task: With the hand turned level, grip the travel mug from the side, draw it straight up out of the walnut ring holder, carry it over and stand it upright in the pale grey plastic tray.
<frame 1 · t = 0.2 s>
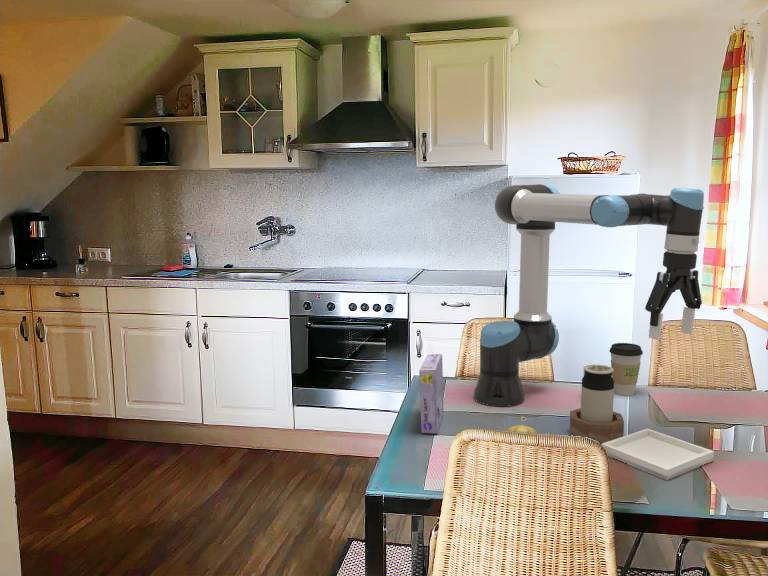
hand: (670, 335, 168), 27 cm above the table, tool pointing down, fingers open, 13 cm apart
travel mug: (595, 435, 176), resting in ring holder
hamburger: (520, 469, 156), on the table
coffee cup: (624, 393, 210), on the table
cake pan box: (432, 423, 186), on the table
ring holder: (595, 434, 176), on the table
tray: (656, 457, 161), on the table
white cup: (595, 399, 204), on the table
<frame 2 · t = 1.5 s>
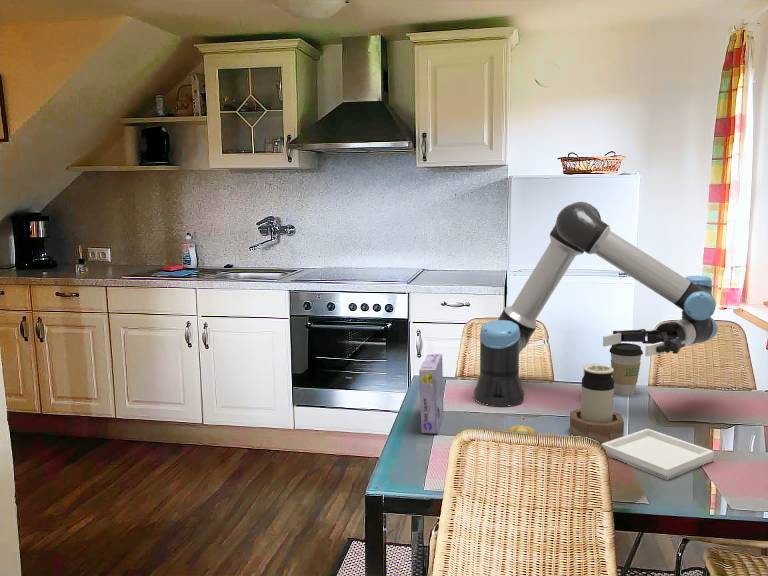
hand: (624, 346, 178), 22 cm above the table, tool horizontal, fingers open, 13 cm apart
nothing on the table moved.
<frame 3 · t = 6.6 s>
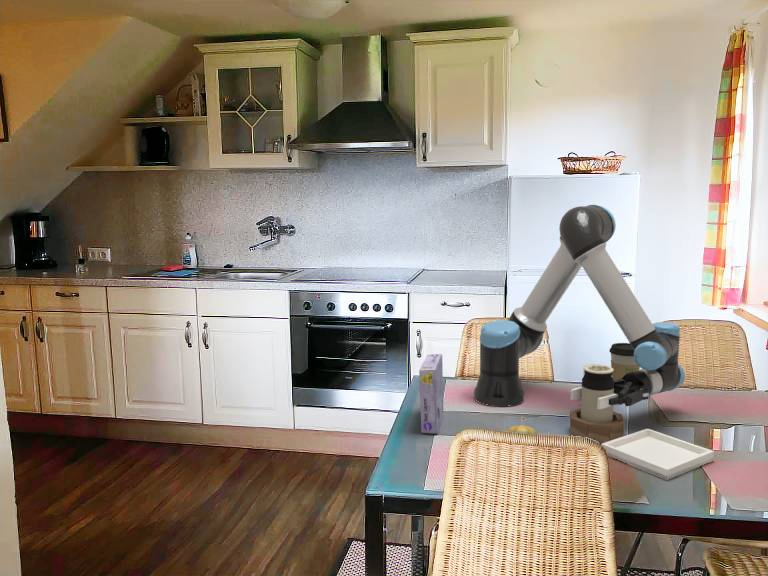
hand: (585, 399, 172), 11 cm above the table, tool horizontal, fingers closed on travel mug, 8 cm apart
travel mug: (595, 435, 176), resting in ring holder, touching gripper
everything else where it was.
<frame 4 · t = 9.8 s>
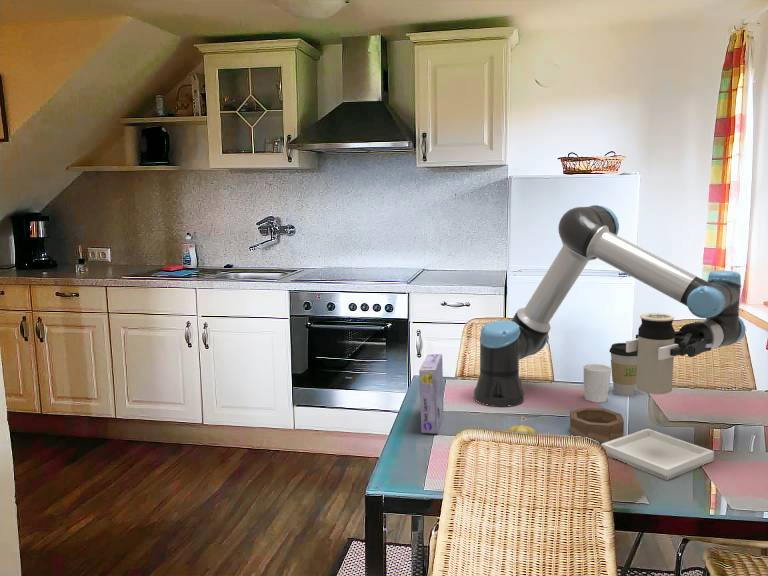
hand: (643, 350, 156), 27 cm above the table, tool horizontal, fingers closed on travel mug, 8 cm apart
travel mug: (653, 390, 160), point 16 cm above the table, touching gripper
everything else where it was.
when the fingers open (13 cm above the table, at t = 13.3 s): travel mug drops 1 cm, resting on tray.
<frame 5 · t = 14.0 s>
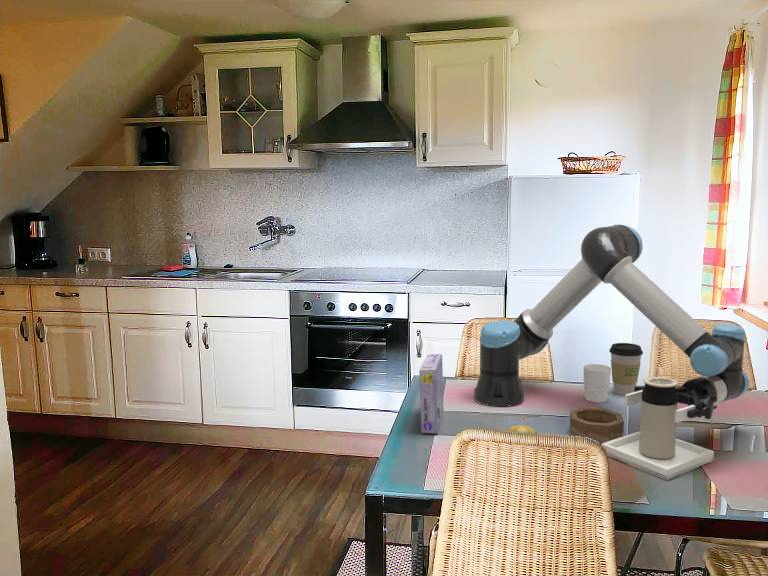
hand: (650, 408, 157), 13 cm above the table, tool horizontal, fingers open, 13 cm apart
travel mug: (656, 454, 161), point 1 cm above the table, touching tray
everything else where it was.
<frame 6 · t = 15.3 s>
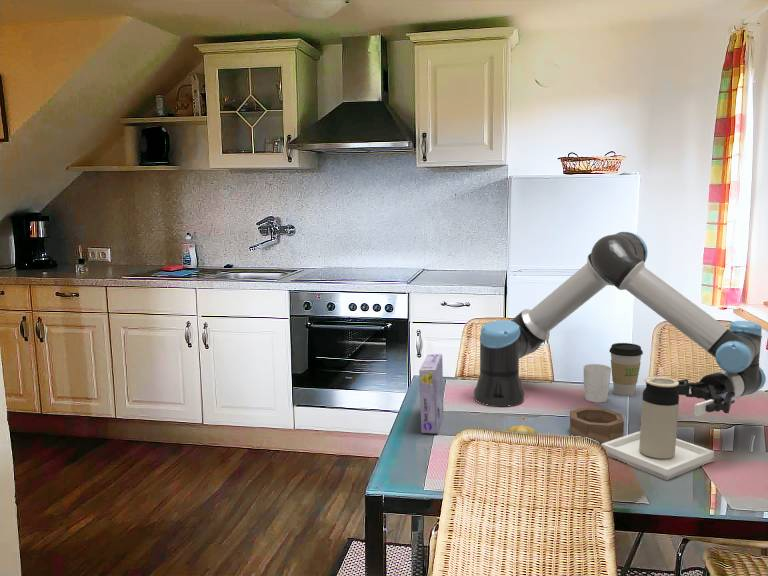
hand: (669, 402, 160), 13 cm above the table, tool horizontal, fingers open, 13 cm apart
nothing on the table moved.
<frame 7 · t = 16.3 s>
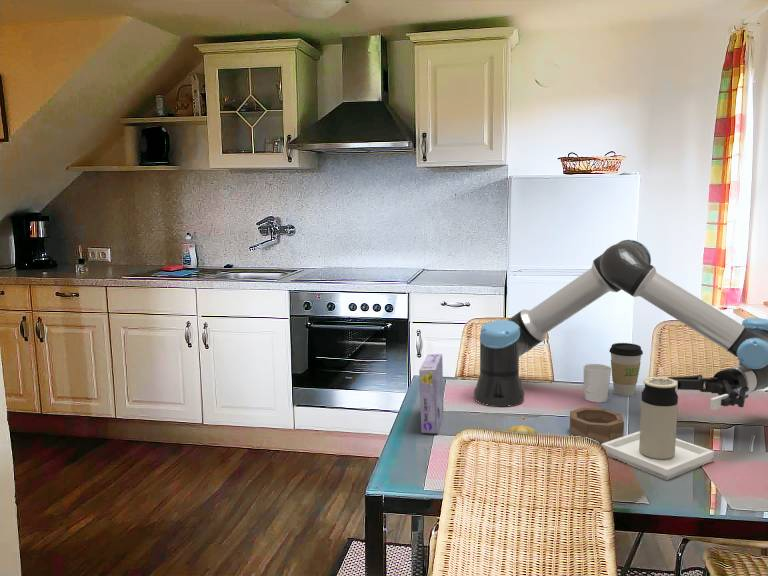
hand: (685, 397, 165), 13 cm above the table, tool horizontal, fingers open, 13 cm apart
nothing on the table moved.
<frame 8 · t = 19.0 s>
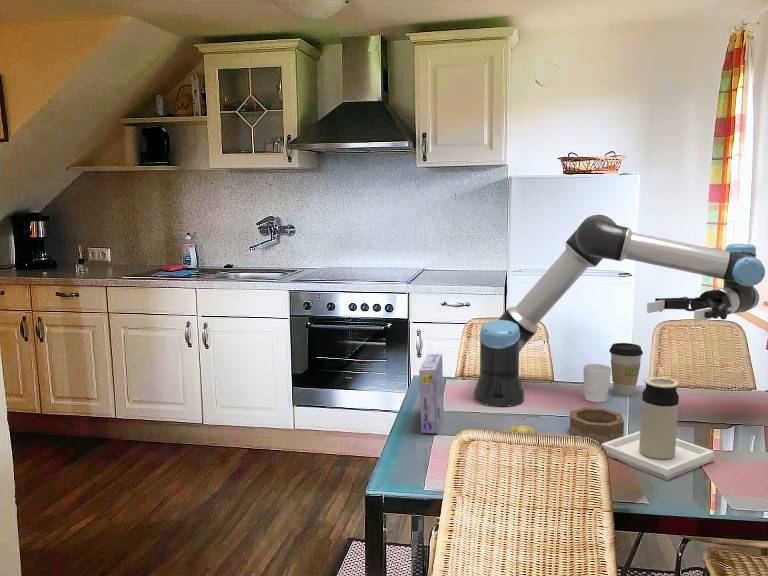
hand: (670, 311, 174), 32 cm above the table, tool horizontal, fingers open, 13 cm apart
nothing on the table moved.
at the end: travel mug inside the target area on the tray (0.1 cm from its centre), point 0.8 cm above the tray's base; travel mug tilted 0°; the gripper is holding nothing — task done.
